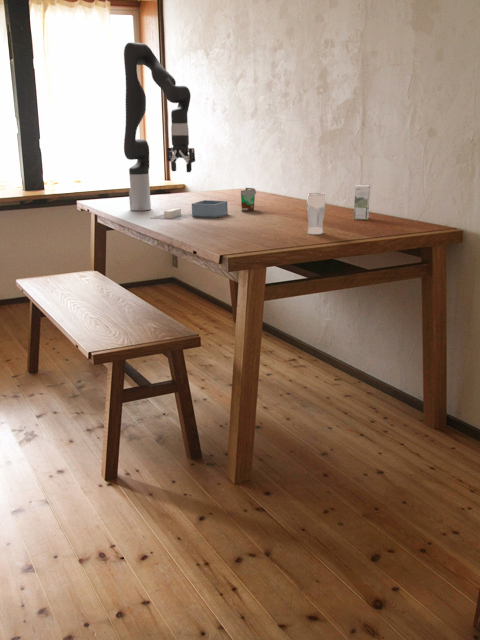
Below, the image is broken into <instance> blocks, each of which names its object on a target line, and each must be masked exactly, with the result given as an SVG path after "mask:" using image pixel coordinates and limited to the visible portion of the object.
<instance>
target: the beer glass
mask: <svg viewBox="0 0 480 640" xmlns="http://www.w3.org/2000/svg"><path fill="white" fill-rule="evenodd" d="M306 197H307V198H306V213H307V214H306V215H307V219H308V227H307V235H311V236H312V235H313V236H317V235H323V234H324V228H323V227H324V226H323V224H324V223H323V222H324V217H325V212H326V193H323V192H309V193H307V196H306Z"/></svg>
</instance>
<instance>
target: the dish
mask: <svg viewBox="0 0 480 640" xmlns="http://www.w3.org/2000/svg"><path fill="white" fill-rule="evenodd" d="M228 211H229V210H228V201H227V200H211V199H210V200H209V199H208V200H207V199H202V200H200V201H196V202H192V203H191V215H192V216H191V217H192V218H201V219H202V218H203V219H206V218H207V219H218V218H221V217H223V216H227V215H228V214H229V213H228Z"/></svg>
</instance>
